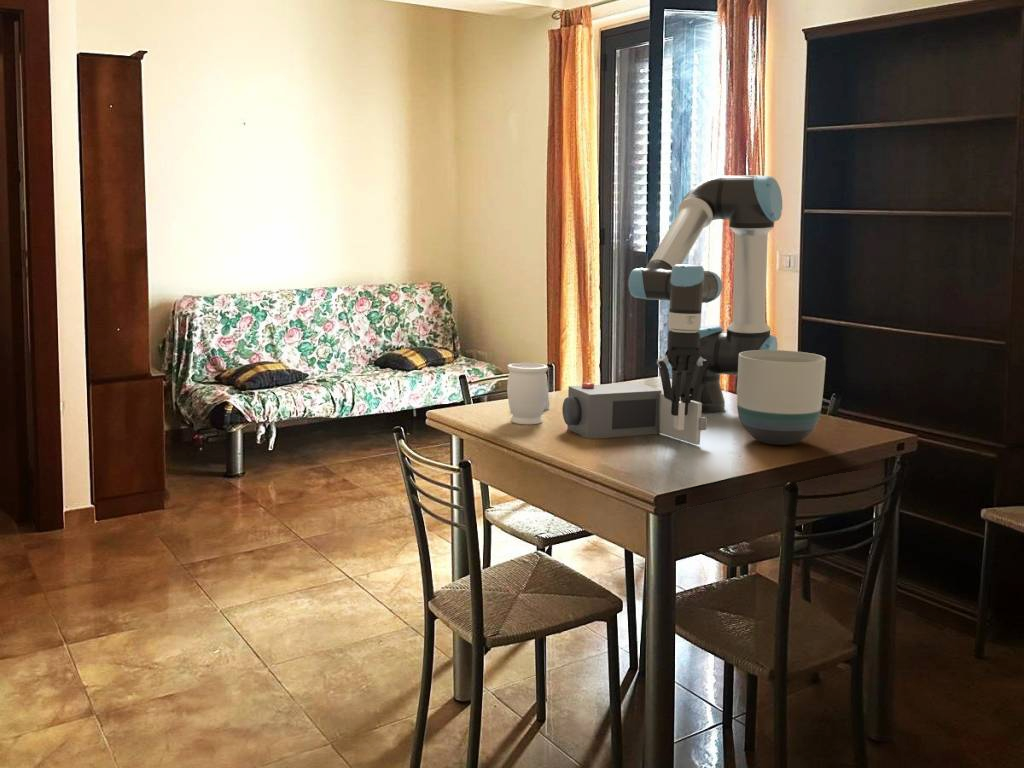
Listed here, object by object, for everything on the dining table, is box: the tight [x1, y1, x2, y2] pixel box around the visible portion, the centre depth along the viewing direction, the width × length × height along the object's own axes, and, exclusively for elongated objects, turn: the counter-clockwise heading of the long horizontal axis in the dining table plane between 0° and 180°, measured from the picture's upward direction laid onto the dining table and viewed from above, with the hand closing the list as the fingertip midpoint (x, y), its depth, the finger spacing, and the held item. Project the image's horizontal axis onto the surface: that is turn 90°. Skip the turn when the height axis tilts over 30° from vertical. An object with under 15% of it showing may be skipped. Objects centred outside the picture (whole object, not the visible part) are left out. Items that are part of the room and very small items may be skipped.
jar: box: [506, 362, 549, 426], centre depth 279 cm, size 11×10×15 cm
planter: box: [736, 349, 827, 446], centre depth 260 cm, size 20×20×21 cm
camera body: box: [561, 382, 663, 440], centre depth 270 cm, size 22×12×12 cm, turn 112°
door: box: [658, 392, 708, 446], centre depth 262 cm, size 16×2×10 cm, turn 30°
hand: (678, 428), depth 256 cm, fingers closed
